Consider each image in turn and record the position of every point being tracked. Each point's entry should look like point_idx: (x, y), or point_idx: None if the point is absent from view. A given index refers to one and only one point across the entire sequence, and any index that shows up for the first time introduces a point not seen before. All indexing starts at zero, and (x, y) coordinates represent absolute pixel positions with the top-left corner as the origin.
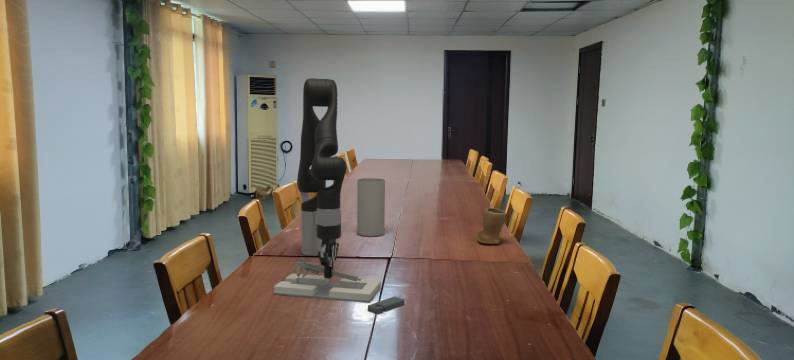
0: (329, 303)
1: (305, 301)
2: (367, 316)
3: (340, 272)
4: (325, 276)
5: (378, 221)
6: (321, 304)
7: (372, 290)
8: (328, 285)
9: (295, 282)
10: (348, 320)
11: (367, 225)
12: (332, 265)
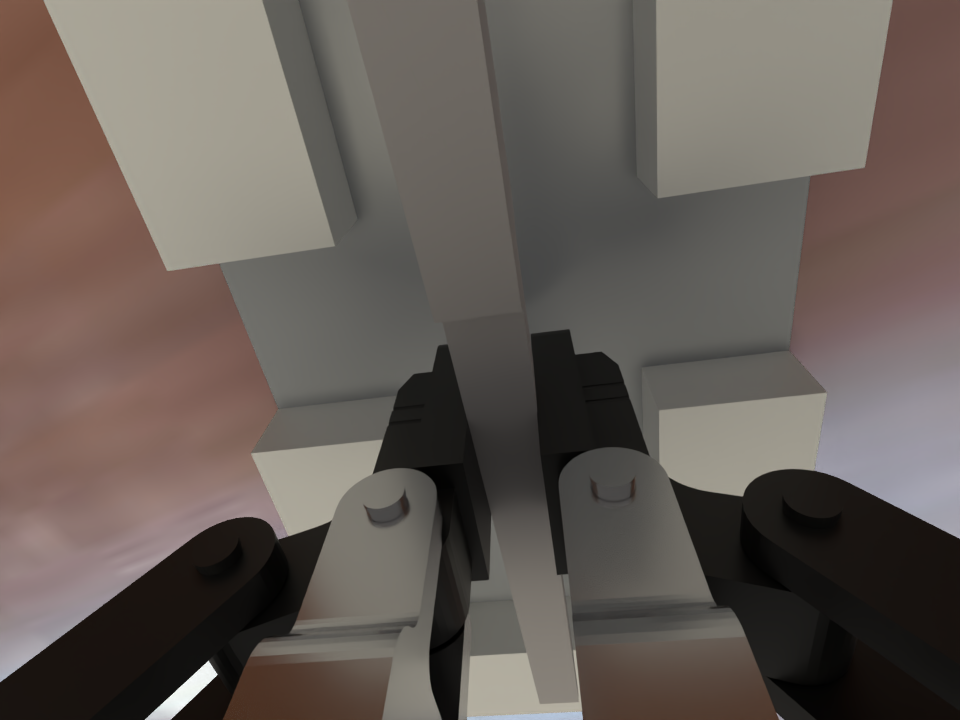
0: (197, 443)
1: (75, 213)
2: (168, 697)
3: (522, 598)
4: (414, 386)
5: None
6: (129, 397)
7: (473, 713)
8: (665, 218)
9: None
10: (36, 645)
11: None
12: (559, 569)
